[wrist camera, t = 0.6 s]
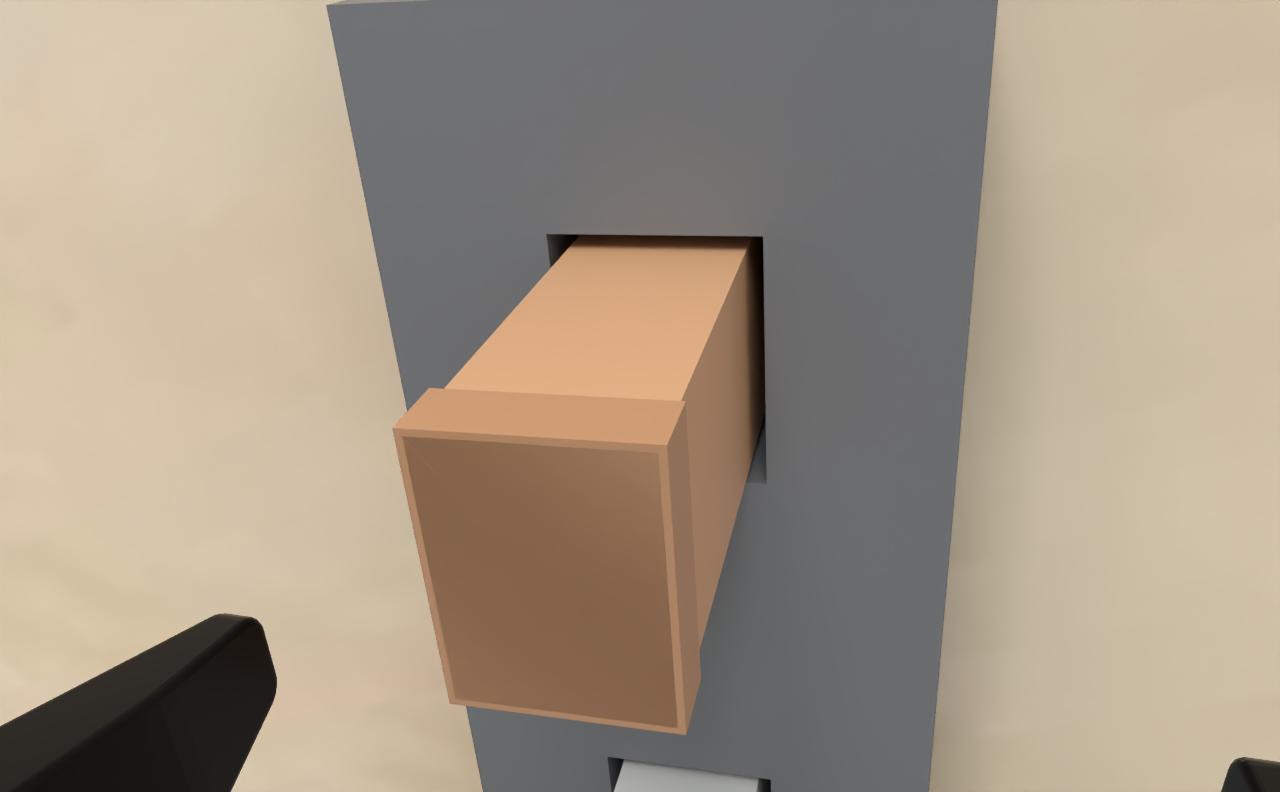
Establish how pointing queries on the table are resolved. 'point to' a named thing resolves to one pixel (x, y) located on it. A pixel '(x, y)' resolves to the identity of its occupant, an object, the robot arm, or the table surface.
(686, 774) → the grey plug
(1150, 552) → the table surface
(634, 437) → the terracotta plug
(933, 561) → the block
